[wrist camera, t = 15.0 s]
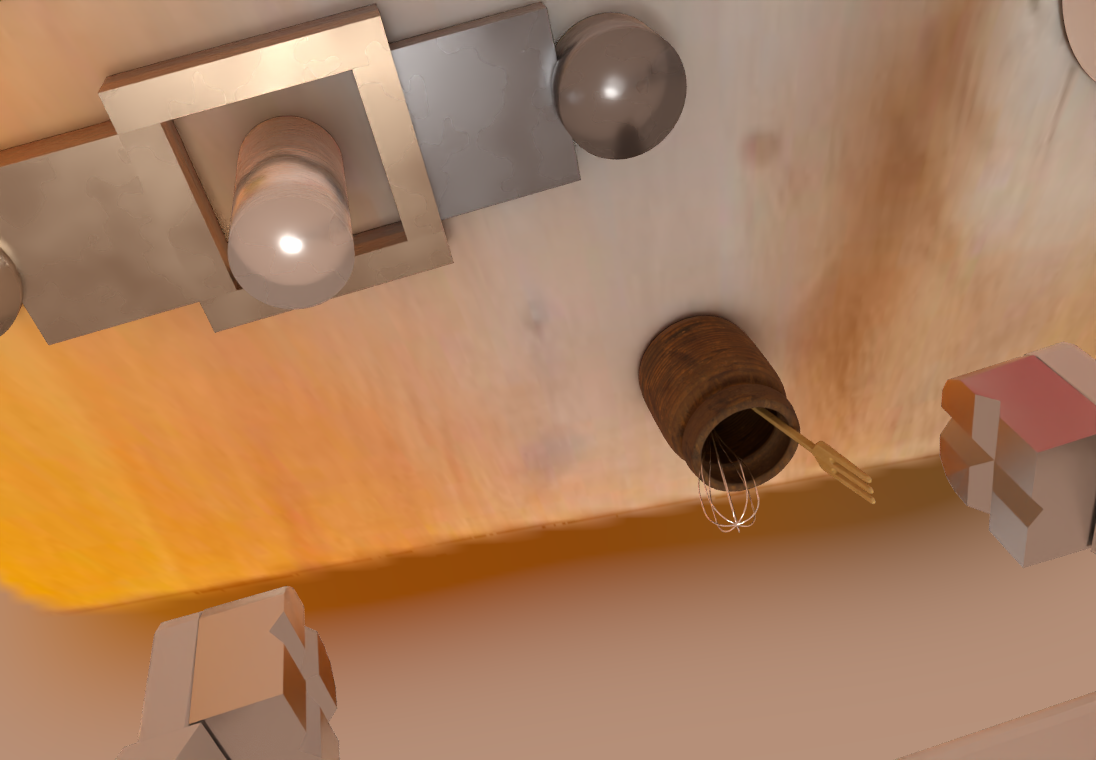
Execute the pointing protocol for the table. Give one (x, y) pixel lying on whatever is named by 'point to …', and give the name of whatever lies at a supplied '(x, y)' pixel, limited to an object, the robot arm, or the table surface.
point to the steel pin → (290, 215)
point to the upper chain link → (188, 191)
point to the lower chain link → (513, 101)
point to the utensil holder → (728, 410)
